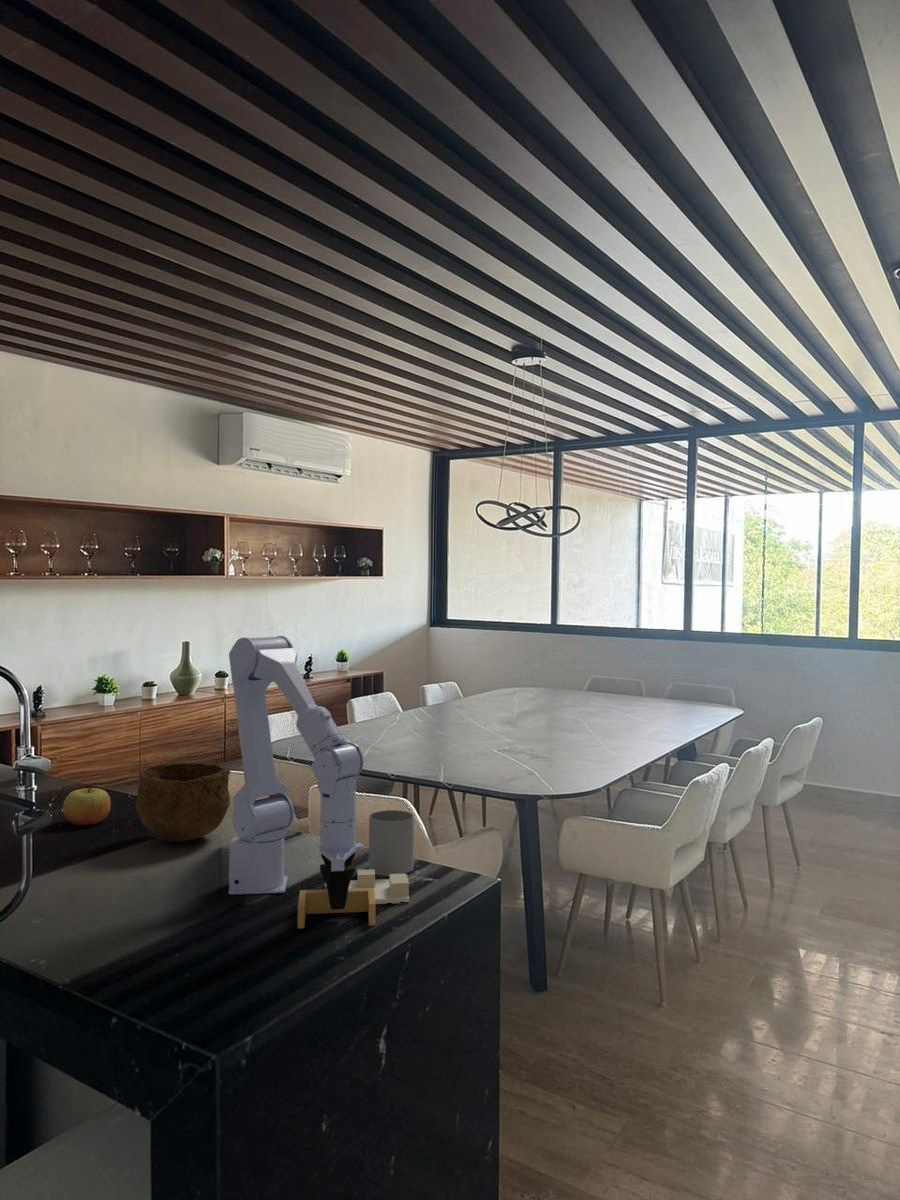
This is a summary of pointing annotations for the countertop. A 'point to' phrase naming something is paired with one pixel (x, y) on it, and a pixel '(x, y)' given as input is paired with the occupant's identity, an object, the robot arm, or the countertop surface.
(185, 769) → the bowl
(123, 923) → the countertop surface
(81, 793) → the apple
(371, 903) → the tan u-shaped clamp
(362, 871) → the display stand
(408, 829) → the cup
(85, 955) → the countertop surface
